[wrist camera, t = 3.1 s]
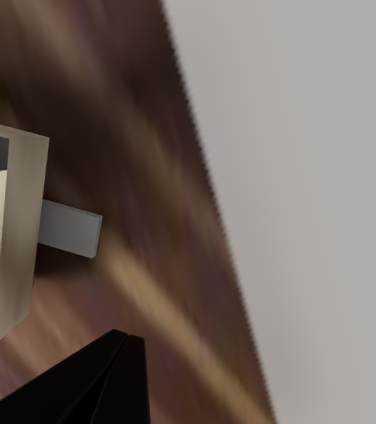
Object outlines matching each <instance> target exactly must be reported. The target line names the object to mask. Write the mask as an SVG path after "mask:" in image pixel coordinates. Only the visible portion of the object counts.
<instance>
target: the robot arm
mask: <svg viewBox="0 0 376 424" xmlns="http://www.w3.org/2000/svg"><path fill="white" fill-rule="evenodd" d="M0 424H151V418H150V404H149V390H148V376H147V362H146V348H145V339H144V338H143V337H140V336H137V335H133V334H130V335H129V336H128V333H127V332H124V331H121V330H117V329H112V330H110V331H109V332H107V333H106V334H104V335H102V336H101V337H99V338H98V339H96V340H95V341H93V342H91V343H90V344H88V345H87V346H85V347H83V348H82V349H80V350H79V351H77V352H75V353H74V354H72V355H71V356H69V357H67V358H66V359H64V360H63V361H61V362H59V363H58V364H56V365H55V366H53V367H51V368H50V369H48V370H47V371H45V372H44V373H42V374H40V375H39V376H37V377H36V378H34V379H32V380H31V381H29V382H28V383H26V384H24V385H23V386H21V387H20V388H18V389H16V390H15V391H13V392H12V393H10V394H8V395H7V396H5V397H4V398H2V399H0Z"/></svg>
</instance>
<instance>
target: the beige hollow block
mask: <svg viewBox="0 0 376 424" xmlns="http://www.w3.org/2000/svg"><path fill="white" fill-rule="evenodd" d="M48 146H49V137H45V136H41V135H38V134H34V133H30V132H26V131H23V130H19V129H15V128H12V127H8V126H4V125H0V339H2V338H3V337H4V336H5V335H6V334H7V333H8V332H10V331H11V330H12V329H13V328H14V327H15V326H17V325H18V324H19V323H20V322H21V321H22V320H24V319H25V318H26V317H27V316H28V315H29V311H30V302H31V294H32V287H33V283H34V277H33V276H34V268H35V259H36V250H37V242H38V233H39V224H40V216H41V207H42V198H43V190H44V181H45V172H46V164H47V162H48Z"/></svg>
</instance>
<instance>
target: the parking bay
mask: <svg viewBox="0 0 376 424" xmlns="http://www.w3.org/2000/svg"><path fill="white" fill-rule="evenodd" d="M102 218H103V216H101V215H98V214H94V213H91V212H87V211H84V210H80V209H77V208H73V207H70V206H66V205H63V204H59V203H56V202H52V201H49V200H45V199H42V207H41V216H40V224H39V233H38V243H41V244H45V245H48V246H51V247H55V248H58V249H61V250H65V251H68V252H72V253H75V254H78V255H82V256H85V257H88V258H93V257H94V256H96V252H97V246H98V241H99V235H100V229H101V224H102Z"/></svg>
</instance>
